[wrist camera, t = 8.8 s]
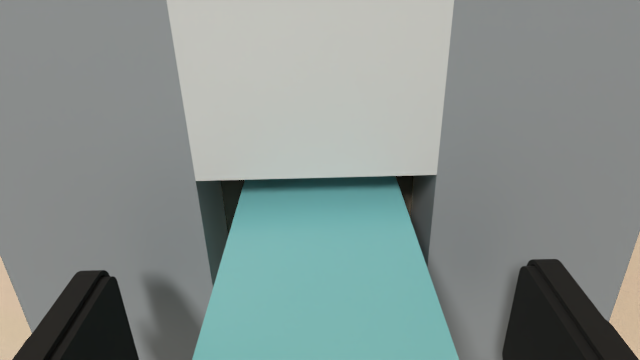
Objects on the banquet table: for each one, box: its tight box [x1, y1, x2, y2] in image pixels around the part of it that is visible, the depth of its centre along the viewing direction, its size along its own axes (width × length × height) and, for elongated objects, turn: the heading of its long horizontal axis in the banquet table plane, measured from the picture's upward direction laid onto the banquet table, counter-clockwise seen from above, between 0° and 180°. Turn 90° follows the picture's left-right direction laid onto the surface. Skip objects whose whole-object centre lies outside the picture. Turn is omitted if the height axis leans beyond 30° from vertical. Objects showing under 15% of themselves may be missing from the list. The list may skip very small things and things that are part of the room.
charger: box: [192, 176, 459, 360], centre depth 11 cm, size 4×4×8 cm
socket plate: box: [0, 0, 640, 360], centre depth 13 cm, size 16×14×2 cm
